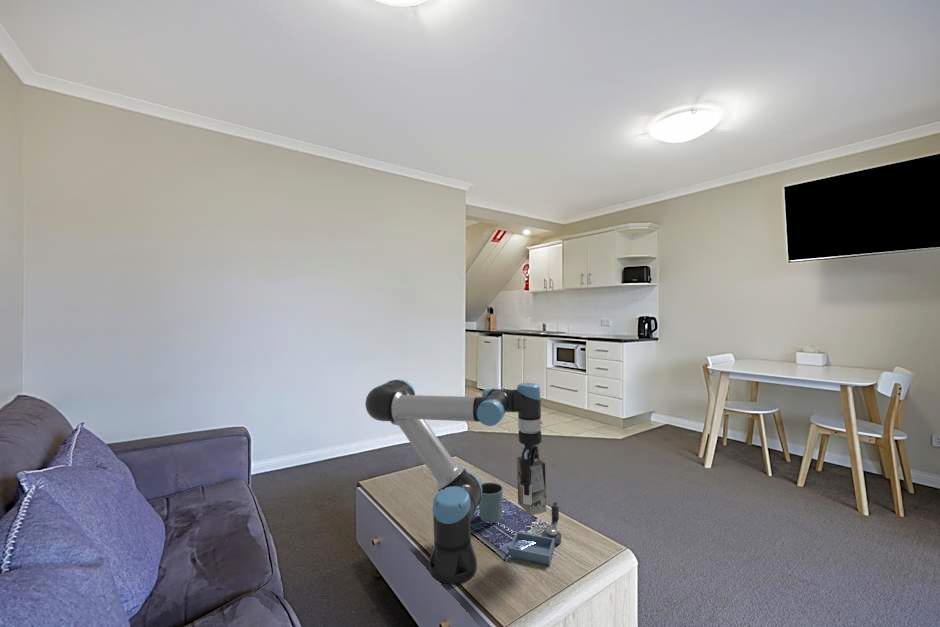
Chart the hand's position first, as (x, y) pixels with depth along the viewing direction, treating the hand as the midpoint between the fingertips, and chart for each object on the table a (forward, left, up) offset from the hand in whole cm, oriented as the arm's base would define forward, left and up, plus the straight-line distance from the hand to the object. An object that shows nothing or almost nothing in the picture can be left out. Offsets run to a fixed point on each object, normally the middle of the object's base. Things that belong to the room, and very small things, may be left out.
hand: (531, 495), depth 133 cm
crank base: (+9, -1, -19) cm, 21 cm away
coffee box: (0, 0, -4) cm, 4 cm away
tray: (0, 0, -19) cm, 19 cm away
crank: (+13, -5, -17) cm, 22 cm away
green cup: (+16, +20, -19) cm, 32 cm away
